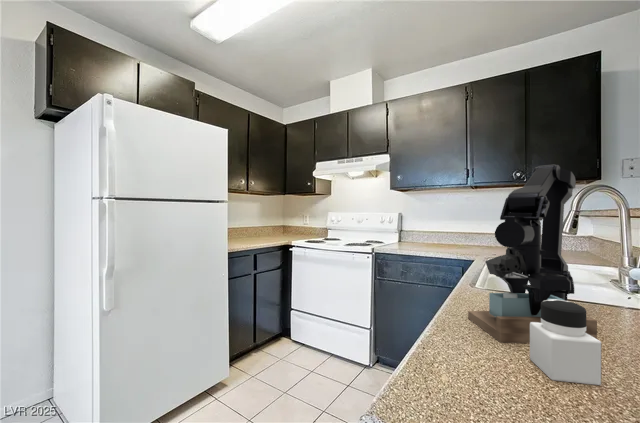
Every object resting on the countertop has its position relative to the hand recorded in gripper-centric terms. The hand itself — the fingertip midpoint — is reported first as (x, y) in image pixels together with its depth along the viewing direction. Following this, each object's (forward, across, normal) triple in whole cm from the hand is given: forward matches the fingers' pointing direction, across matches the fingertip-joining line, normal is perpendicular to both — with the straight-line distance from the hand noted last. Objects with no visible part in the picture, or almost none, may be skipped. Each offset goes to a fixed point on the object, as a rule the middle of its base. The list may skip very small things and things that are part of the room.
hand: (525, 310), depth 68 cm
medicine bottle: (+5, +18, -6) cm, 20 cm away
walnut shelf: (+4, 0, 0) cm, 4 cm away
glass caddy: (+2, 0, 0) cm, 2 cm away
